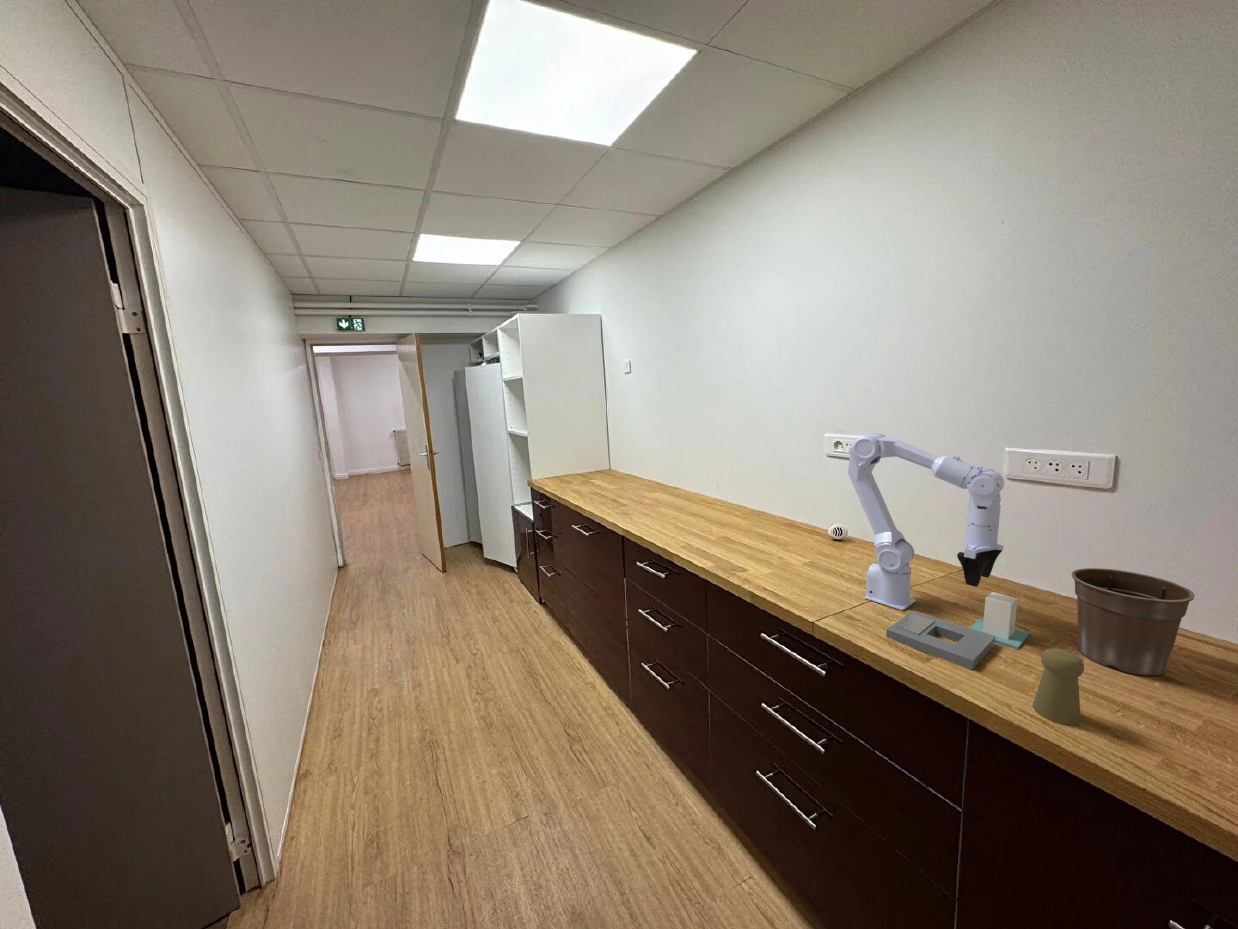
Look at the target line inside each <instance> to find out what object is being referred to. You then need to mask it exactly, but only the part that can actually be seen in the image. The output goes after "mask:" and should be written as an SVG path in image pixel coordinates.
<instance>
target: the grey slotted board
mask: <svg viewBox="0 0 1238 929" xmlns="http://www.w3.org/2000/svg"><path fill="white" fill-rule="evenodd" d="M885 633H886V634H885V635H886V636H885V638H886V637H888V638H891V639H893V640H896V641H898V642H897V643H899V642H900V643H899V644H901V643H903V644H902V645H904V644H907V645H909V646H911V647H910V648H912V647H913V648H912V649H915V650H917V649H918V651H920V650H922V651H921V652H923V651H925V652H926V653H925V652H924V653H925V654H928V653H930V654H929V655H931V654H932V655H931V656H933V655H934V657H936V656H938V657H937V658H939V657H940V658H939V659H942V658H943V659H942V660H944V659H945V661H947V660H948V662H950V663H952V662H954V663H953V664H955V663H956V664H955V665H958V664H959V665H958V666H960V665H961V667H963V668H966V669H969V670H971V669H973V670H974V669H975V667H976V666H978V664H980V662H981V661H982V660H983V659H984V657H986V655H987V654H989V652H990V651H991V650H992V649H993V647H994V646H996V642H995V638H996V636H993V635H990V634H987V633H983V632H980V631H977V630H974V629H971V628H970V627H967V626H964V625H961V624H958V623H954V622H951V621H947V620H945V619H941V618H938V617H935V616H932V615H929V614H926V613H922V612H919V611H917V610H912V611H910V612H909V613H908V614H906V615H904V617H902V618H901V619H899V620H898V621H897V622H895V623H894V624H892V625H891V626H889V627H888V628H887V629H886V632H885ZM935 635H936V636H935ZM937 636H940V637H943V638H946V639H948V640H951V641H954V642H956V643H953V642H950V641H948V640H944V639H942V638H939V637H937ZM888 638H887V639H888ZM893 640H892V641H893ZM896 641H895V642H896ZM907 645H906V646H907ZM909 646H908V647H909Z"/></svg>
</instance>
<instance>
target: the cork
mask: <svg viewBox="0 0 1238 929" xmlns="http://www.w3.org/2000/svg"><path fill="white" fill-rule="evenodd" d="M1040 660H1041V664H1042V666H1043V670H1042V675H1041V678H1040V680H1039V684H1038V687H1037V690H1036V693H1035V696H1034V700H1033V703H1032V708H1034V709H1033V710H1034V712H1036V713H1037V714H1038V715H1039V714H1040V715H1039V716H1041V717H1043V718H1044V719H1046V718H1047V719H1046V720H1048V719H1049V720H1048V721H1050V720H1051V721H1050V722H1052V723H1057V724H1059V725H1064V726H1068V727H1069V726H1071V727H1072V726H1073V727H1074V726H1079V725H1080V724H1081V723H1082V718H1081V715H1082V714H1081V704H1080V689H1079V688H1080V686H1079V685H1080V684H1079V677H1081V676H1082V675H1083V673H1084V671H1085V664H1084V661H1083V660H1082V658H1081V657H1079V656H1078V655H1076V654H1075V653H1074V652H1070V651H1068V650H1066V649H1065V650H1064V649H1062V648H1047V649H1045V650H1044V651H1043V652H1042V654H1041V658H1040Z"/></svg>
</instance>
